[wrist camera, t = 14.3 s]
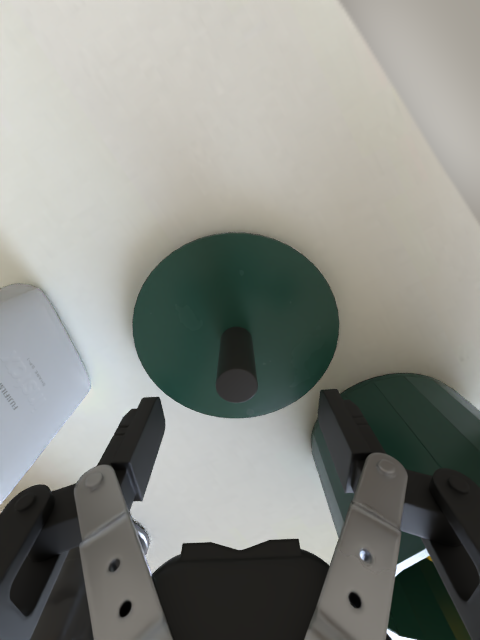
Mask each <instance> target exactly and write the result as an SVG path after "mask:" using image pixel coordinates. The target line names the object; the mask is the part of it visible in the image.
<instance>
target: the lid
mask: <svg viewBox="0 0 480 640" xmlns="http://www.w3.org/2000/svg"><path fill="white" fill-rule="evenodd" d="M338 335H339V317H338V309H337V306H336V302H335V298H334V296H333V293H332V291H331V289H330V286H329V285H328V283H327V281H326V280H325V278H324V277H323V275H322V274H321V273H320V271H319V270H318V269H317V268H316V267H315V266H314V264H313V263H311V262H310V261H309V260H308V259H307V258H306V257H305V256H303V255H302V254H301V253H299V252H298V251H296V250H295V249H293V248H292V247H290V246H288V245H286V244H284V243H282V242H280V241H278V240H275V239H272V238H269V237H266V236H262V235H258V234H251V233H236V232H229V233H221V234H214V235H210V236H206V237H203V238H199V239H197V240H195V241H192V242H190V243H188V244H185V245H184V246H182V247H180V248H179V249H177V250H176V251H174V252H172V253H171V254H170V255H169V256H167V257H166V258H165V259H164V260H163V261H161V262H160V263H159V264H158V266H157V267H156V268H155V269H154V270H153V271H152V272H151V273H150V275H149V276H148V278H147V280H146V281H145V283H144V284H143V286H142V288H141V290H140V293H139V295H138V297H137V301H136V304H135V308H134V314H133V337H134V343H135V348H136V351H137V354H138V357H139V359H140V361H141V363H142V365H143V367H144V369H145V371H146V372H147V374H148V375H149V377H150V378H151V379H152V380H153V382H154V383H155V384H156V385H157V386H158V387H159V388H160V389H161V390H162V391H163V392H164V393H165V394H166V395H168V396H169V397H171V398H172V399H173V400H175V401H176V402H178V403H180V404H182V405H183V406H185V407H187V408H190V409H192V410H194V411H197V412H200V413H203V414H206V415H211V416H216V417H223V418H249V417H256V416H261V415H265V414H268V413H271V412H275V411H277V410H279V409H282V408H284V407H286V406H288V405H290V404H291V403H293V402H295V401H297V400H298V399H299V398H301V397H302V396H303V395H305V394H306V393H307V392H308V391H309V390H310V389H311V388H313V387H314V385H315V384H316V383H317V382H318V381H319V380H320V379H321V377H322V376H323V374H324V373H325V371H326V370H327V368H328V366H329V364H330V362H331V360H332V358H333V355H334V352H335V349H336V346H337V341H338Z"/></svg>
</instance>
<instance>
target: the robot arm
mask: <svg viewBox="0 0 480 640" xmlns="http://www.w3.org/2000/svg"><path fill="white" fill-rule="evenodd" d="M318 420H319V425H320V428H321V431H322V433H323V436H324V439H325V441H326V444H327V447H328V449H329V452H330V455H331V457H332V460H333V463H334V465H335V468H336V471H337V473H338V476H339V479H340V481H341V484H342V487H343V489H344V492H345V493H354V498H353V500H352V501H351V503H350V506H349V509H348V512H347V515H346V518H345V521H344V524H343V527H342V530H341V533H340V536H339V539H338V542H337V545H336V548H335V551H334V554H333V557H332V560H331V563H330V566H329V565H328V564H327V563H326V562H324V561H323V560H322V559H320V558H319V557H317V556H316V555H314V554H312V553H310V552H308V551H305V550H302V549H300V544H299V539H281V540H268V541H266V542H263V543H260V544H258V545H255V546H252V547H250V548H247V549H244V550H236V549H232V548H229V547H225V546H222V545H219V544H215V543H212V542H207V543H183V545H182V551H181V554H180V555H177V556H175V557H173V558H172V559H170V560H168V561H167V562H165V563H164V564H163V565H161V566H160V567H159V568H158V569H157V570H156V571H155V572H154V573H153V574H152V573H151V570H150V568H149V565H148V562H147V559H146V557H145V555H146V553H147V551H148V547H149V537H148V535H147V534H146V532H145V531H144V530H143V529H142V528H141V527H139V526H138V525H136V524H135V523H134V522H133V520H132V517H131V514H130V509H131V506H132V503H133V501H142V500H143V497H144V494H145V491H146V488H147V485H148V482H149V478H150V475H151V472H152V469H153V466H154V463H155V460H156V457H157V454H158V450H159V447H160V444H161V441H162V438H163V435H164V431H165V418H164V414H163V409H162V405H161V400H160V398H159V397H146V398H143V399H142V400H141V402H140V404H139V406H138V408H137V409H131V410H130V411H129V412H128V413H127V414H126V415H125V416H124V417H123V419H122V420H121V422H120V424H119V426H118V428H117V430H116V432H115V433H114V436H113V437H112V439H111V441H110V443H109V445H108V446H107V448H106V450H105V452H104V454H103V456H102V458H101V459H100V461H99V463H98V465H97V466H96V467H94V468H91V469H90V470H88V471H87V472H86V473H84V474H83V475H82V476H81V477H80V479H79V480H78V481H77V483H76V484H73V485H70V486H67V487H64V488H61V489H58V490H55V491H52V492H51V491H50V489H49V487H48V486H46V485H35V486H32V487H29V488H27V489H25V490H24V491H22V492H20V493H19V494H18V495H16V496H15V497H14V498H13V499H12V500H11V501H10V502H9V503H8V504H7V506H6V507H5V508H4V510H3V511H2V513H1V514H0V640H393V639H392V638H391V637H390V636H389V635H388V633H387V629H388V622H389V615H390V608H391V601H392V595H393V588H394V581H395V574H396V568H397V561H398V554H399V547H400V541H401V531H403V532H406V533H409V534H413V535H416V536H419V537H421V539H422V541H423V543H424V545H425V547H426V549H427V551H428V553H429V555H430V557H431V559H432V561H433V563H434V565H435V567H436V569H437V571H438V573H439V575H440V577H441V579H442V581H443V583H444V585H445V587H446V589H447V591H448V593H449V595H450V597H451V599H452V601H453V603H454V605H455V607H456V609H457V611H458V613H459V615H460V617H461V619H462V621H463V623H464V625H465V627H466V629H467V631H468V633H469V635H470V637H471V639H472V640H480V488H479V487H478V486H477V484H476V483H475V482H473V481H472V480H471V479H470V478H469V477H467V476H465V475H464V474H462V473H460V472H458V471H456V470H452V469H448V468H440V469H437V470H436V471H435V472H434V474H433V476H431V475H427V474H422V473H418V472H414V471H411V470H408V469H405V468H404V467H403V465H402V464H401V463H400V462H399V461H397V460H396V459H395V458H393V457H391V456H389V455H387V454H386V452H385V450H384V449H383V447H382V446H381V444H380V442H379V441H378V439H377V437H376V436H375V434H374V432H373V431H372V429H371V427H370V426H369V425H368V422H367V421H366V419H365V418H364V416H363V414H362V412H361V411H360V409H359V407H358V406H357V405H355V404H354V403H353V402H352V401H351V400H349V399H347V400H343V399H342V397H341V395H340V393H339V391H338V390H337V389H328V390H321V391H320V398H319V408H318Z"/></svg>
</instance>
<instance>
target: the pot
mask: <svg viewBox="0 0 480 640" xmlns="http://www.w3.org/2000/svg"><path fill="white" fill-rule="evenodd" d="M340 395H341V397H342V399H343V400H347V399H349V400H351V401H352V402H353V403H354V404H355V405H357V406H358V407H359V409H360V411H361V412H362V414H363V416H364V418H365V419H366V421H367V422H368V425H369V426H370V427H371V429H372V431H373V432H374V434H375V436H376V437H377V439H378V441H379V442H380V444H381V446H382V447H383V449H384V450H385V452H386V454H387V455H389V456H391V457H393V458H395V459H396V460H397V461H399V462H400V463H401V464H402V465H403V467H404V468H405V469H408V470H411V471H414V472H418V473H422V474H427V475H431V476H433V474H434V472H435V471H436V470H437V469H440V468H448V469H452V470H456V471H458V472H460V473H462V474H464V475H465V476H467V477H469V478H470V479H471V480H472V481H473V482H475V483H476V484H477V486H478V487H479V488H480V411H479V410H478V409H477V408H476V407H474V406H473V405H472V404H471V403H469V402H468V401H467V400H466V399H465V398H463V397H462V396H461V395H460V394H459V393H457V392H456V391H455V390H454V389H452V388H450V387H448V386H447V385H446V384H444V383H442V382H441V381H439V380H436V379H434V378H431V377H428V376H424V375H420V374H412V373H398V374H388V375H383V376H379V377H375V378H372V379H369V380H366V381H363V382H361V383H359V384H356V385H355V386H353V387H351V388H349V389H347V390H346V391H344V392H343V393H341V394H340ZM311 447H312V455H313V458H314V461H315V464H316V467H317V471H318V474H319V477H320V480H321V483H322V487H323V490H324V493H325V496H326V499H327V503H328V506H329V509H330V512H331V515H332V519H333V522H334V525H335V528H336V531H337V535H338V538H339V536H340V533H341V530H342V527H343V524H344V521H345V518H346V515H347V512H348V509H349V506H350V503H351V501H352V500H353V498H354V493H345V492H344V489H343V487H342V484H341V481H340V479H339V476H338V473H337V471H336V468H335V465H334V463H333V460H332V457H331V455H330V452H329V449H328V447H327V444H326V441H325V439H324V436H323V433H322V431H321V428H320V425H319V420H318V419H317V421H316V423H315V425H314V428H313V431H312V437H311ZM428 556H430V555H429V553H428V551H427V549H426V547H425V545H424V543H423V541H422V539H421V537H419V536H416V535H413V534H409V533H406V532H403V531H401V541H400V547H399V554H398V561H397V568H396V574H395V581H394V588H393V595H392V601H391V608H390V615H389V622H388V629H387V633H388V635H389V636H390V637H391V638H392V639H393V640H472V639H471V637H470V635H469V633H468V631H467V629H466V627H465V625H464V623H463V621H462V619H461V617H460V615H459V613H458V611H457V609H456V607H455V605H454V603H453V601H452V599H451V597H450V595H449V593H448V591H447V589H446V587H445V585H444V583H443V581H442V579H441V577H440V575H439V573H438V571H437V569H436V567H435V565H434V563H433V561H430V560H429V559H428V558H426V557H428Z"/></svg>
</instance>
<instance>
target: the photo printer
mask: <svg viewBox="0 0 480 640" xmlns="http://www.w3.org/2000/svg"><path fill="white" fill-rule="evenodd" d="M90 389H91V383H90V379H89V376H88V374H87V372H86V370H85V367H84V365H83V363H82V361H81V359H80V357H79V355H78V353H77V351H76V349H75V347H74V345H73V343H72V341H71V339H70V338H69V336H68V334H67V332H66V330H65V328H64V326H63V325H62V323H61V321H60V319H59V317H58V315H57V314H56V312H55V310H54V308H53V307H52V305H51V303H50V302H49V300H48V298H47V297H46V296H45V294H44V293H43V291H42V290H41V289H39V288H35V287H34V286H31V285H27V284H12V285H8V286H6V287H3V288H0V504H1V503H2V502H3V501H4V500H5V499H6V497H7V496H8V495H9V494H10V492H11V491H12V490H13V489H14V487H15V486H16V485H17V483H18V482H19V481H20V480H21V478H22V477H23V476H24V474H25V473H26V472H27V471H28V469H29V468H30V467H31V466H32V464H33V463H34V462H35V461H36V459H37V458H38V457H39V455H40V454H41V453H42V452H43V450H44V449H45V448H46V446H47V445H48V444H49V443H50V441H51V440H52V439H53V438H54V436H55V435H56V434H57V432H58V431H59V430H60V428H61V427H62V426H63V425H64V423H65V422H66V421H67V420H68V418H69V417H70V416H71V414H72V413H73V412H74V410H75V409H76V408H77V407H78V405H79V404H80V403H81V402H82V400H83V399H84V398H85V396H86V395H87V394H88V392H89V390H90Z"/></svg>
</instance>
